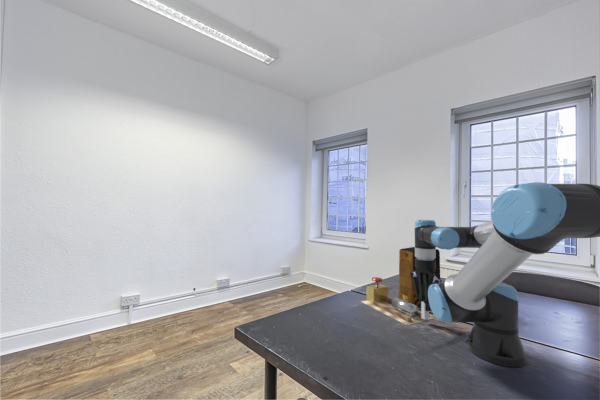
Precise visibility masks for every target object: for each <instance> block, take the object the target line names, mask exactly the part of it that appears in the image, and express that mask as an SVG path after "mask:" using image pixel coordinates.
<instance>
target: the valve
mask: <svg viewBox="0 0 600 400" xmlns="http://www.w3.org/2000/svg"><path fill="white" fill-rule="evenodd" d="M371 281H373V282H375V284H372V285H366V290H365V296H366V300H367V301H369V302H371V303H372V301H378V302H380V303H381V302H386V298H389V286H387V285H385V284H382V283H381V282H383V278H382V277H378V276H377V277H376V276H374V277H372V278H371Z"/></svg>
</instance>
